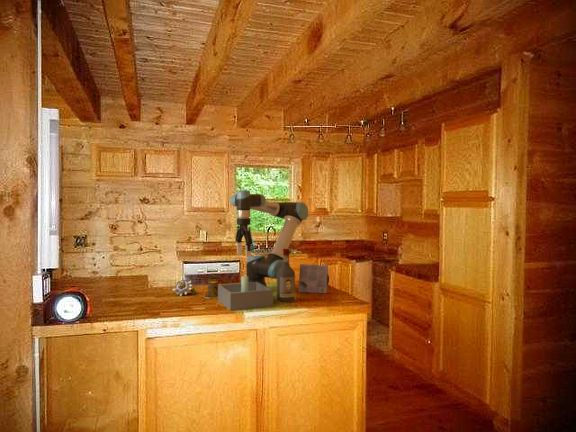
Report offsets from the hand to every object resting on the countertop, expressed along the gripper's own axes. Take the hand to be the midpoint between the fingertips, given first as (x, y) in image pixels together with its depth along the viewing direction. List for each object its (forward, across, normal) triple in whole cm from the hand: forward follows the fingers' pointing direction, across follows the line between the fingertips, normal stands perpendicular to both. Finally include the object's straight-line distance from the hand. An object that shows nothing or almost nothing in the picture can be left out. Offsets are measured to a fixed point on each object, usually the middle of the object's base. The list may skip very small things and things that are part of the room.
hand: (243, 255), depth 223 cm
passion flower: (+27, -32, -26) cm, 49 cm away
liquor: (+27, +7, +23) cm, 36 cm away
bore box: (+27, +3, -1) cm, 27 cm away
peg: (+27, +3, -1) cm, 27 cm away
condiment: (+27, -21, -13) cm, 36 cm away
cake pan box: (+28, -5, +50) cm, 57 cm away
